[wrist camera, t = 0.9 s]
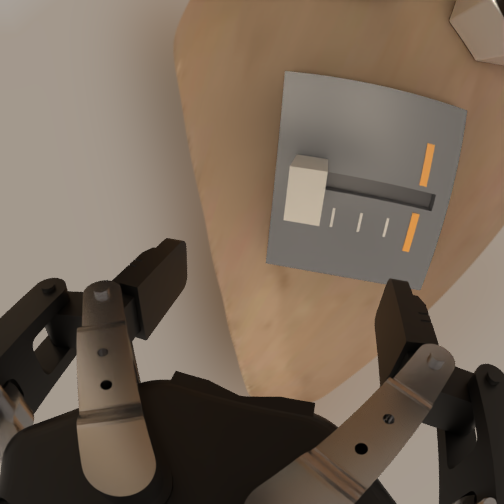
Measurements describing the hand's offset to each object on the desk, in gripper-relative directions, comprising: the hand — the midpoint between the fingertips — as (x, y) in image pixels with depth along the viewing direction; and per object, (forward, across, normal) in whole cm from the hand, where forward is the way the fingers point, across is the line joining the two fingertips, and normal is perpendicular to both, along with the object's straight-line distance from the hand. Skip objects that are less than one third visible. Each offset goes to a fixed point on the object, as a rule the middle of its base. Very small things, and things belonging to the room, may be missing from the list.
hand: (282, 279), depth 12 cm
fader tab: (+17, 0, 0) cm, 17 cm away
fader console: (+20, -5, 0) cm, 20 cm away
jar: (+20, -16, -19) cm, 32 cm away
